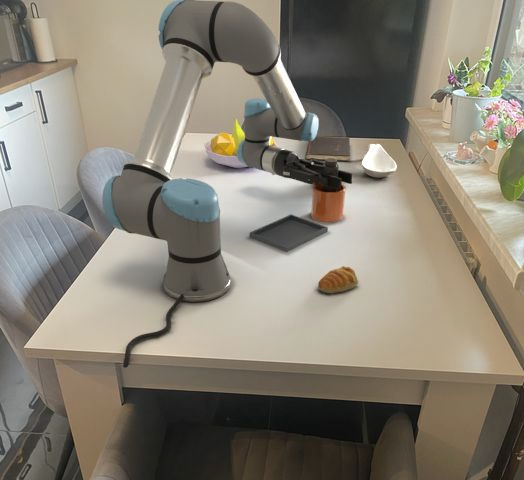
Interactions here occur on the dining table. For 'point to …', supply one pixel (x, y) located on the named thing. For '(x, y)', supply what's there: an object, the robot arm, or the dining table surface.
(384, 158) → the spoon rest
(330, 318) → the dining table surface
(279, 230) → the tray
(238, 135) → the fruit bowl
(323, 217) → the pot
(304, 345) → the dining table surface
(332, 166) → the pepper mill
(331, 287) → the pastry
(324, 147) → the hardcover book
